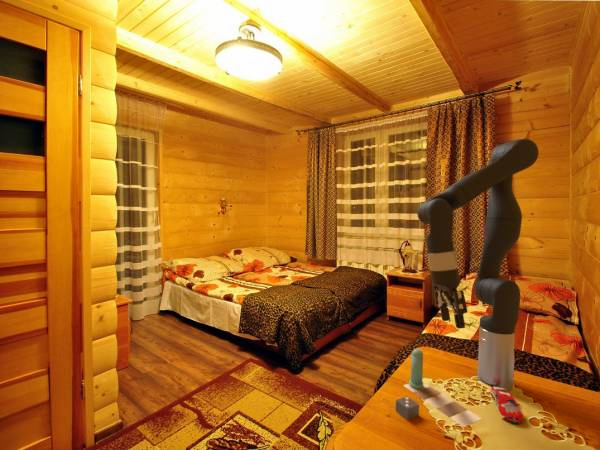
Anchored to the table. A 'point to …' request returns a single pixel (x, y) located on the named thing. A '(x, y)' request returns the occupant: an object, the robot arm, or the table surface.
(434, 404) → the board
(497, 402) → the race car
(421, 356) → the pawn
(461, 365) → the table surface
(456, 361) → the table surface
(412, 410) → the die
